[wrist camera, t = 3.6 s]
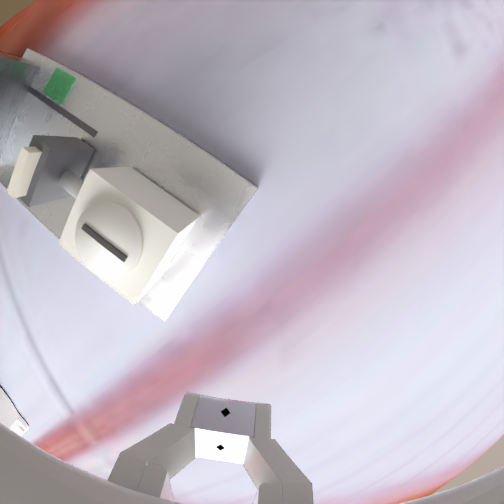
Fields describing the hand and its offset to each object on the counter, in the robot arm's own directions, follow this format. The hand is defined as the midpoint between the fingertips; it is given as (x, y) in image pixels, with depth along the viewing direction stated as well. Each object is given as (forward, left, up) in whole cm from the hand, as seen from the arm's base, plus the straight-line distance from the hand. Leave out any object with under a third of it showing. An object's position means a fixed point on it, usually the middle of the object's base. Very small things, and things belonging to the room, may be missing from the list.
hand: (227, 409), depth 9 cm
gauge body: (0, +10, -11) cm, 15 cm away
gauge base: (0, +16, -13) cm, 21 cm away
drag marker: (0, +16, -11) cm, 19 cm away
